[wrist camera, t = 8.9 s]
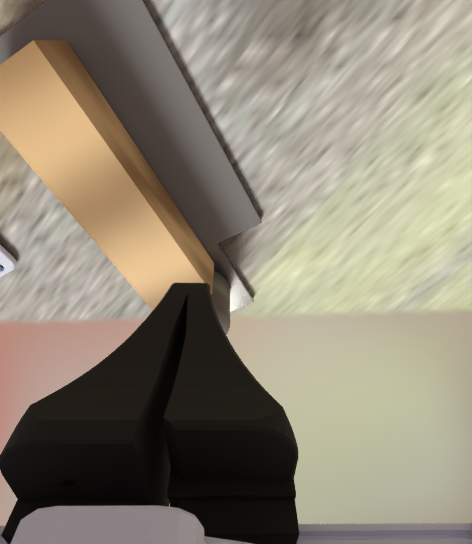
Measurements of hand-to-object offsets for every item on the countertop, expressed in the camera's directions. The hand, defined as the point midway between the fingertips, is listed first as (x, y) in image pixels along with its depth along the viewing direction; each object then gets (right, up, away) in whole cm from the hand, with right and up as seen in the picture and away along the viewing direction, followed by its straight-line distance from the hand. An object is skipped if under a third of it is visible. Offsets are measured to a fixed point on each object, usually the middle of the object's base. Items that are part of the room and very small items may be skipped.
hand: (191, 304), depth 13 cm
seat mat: (-4, +7, +5) cm, 10 cm away
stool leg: (-4, +5, +7) cm, 9 cm away
